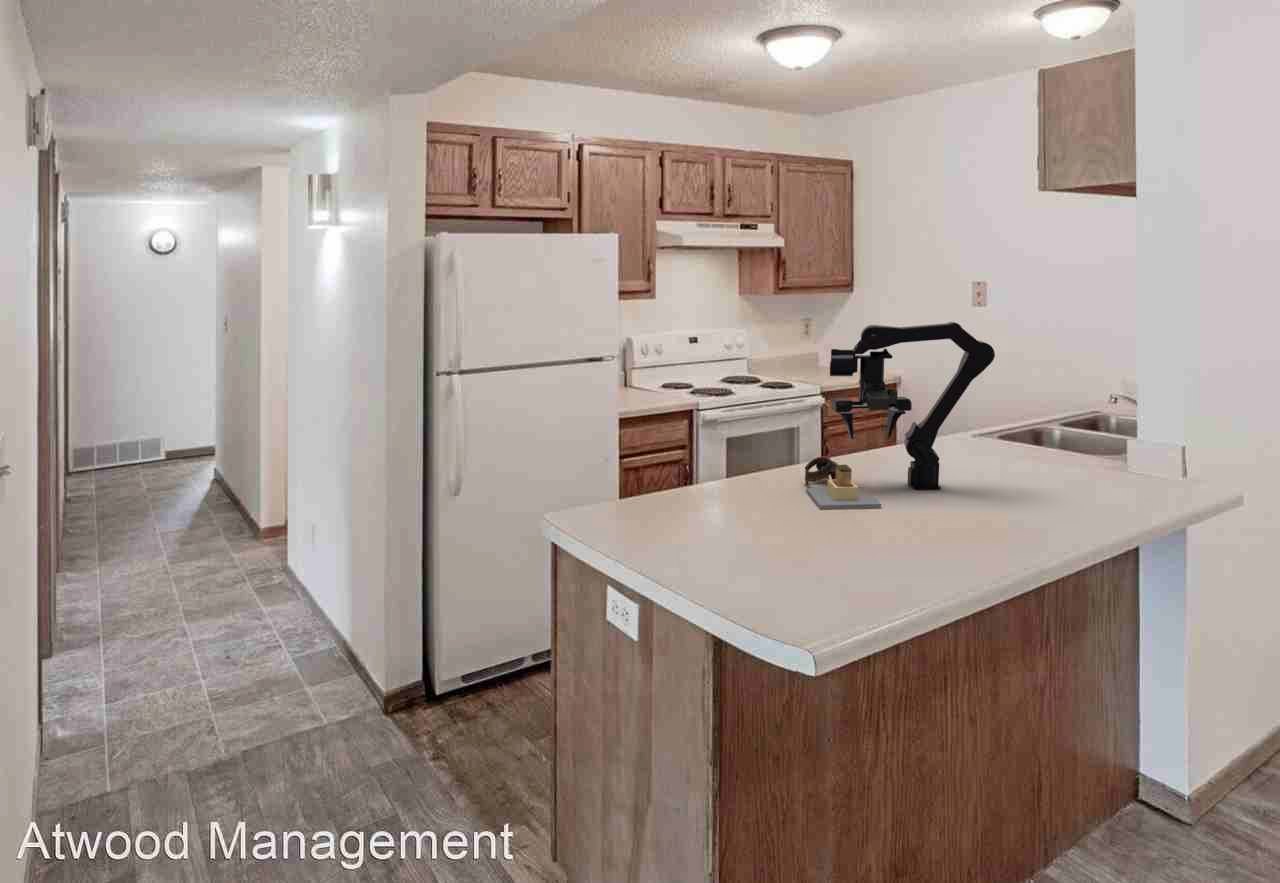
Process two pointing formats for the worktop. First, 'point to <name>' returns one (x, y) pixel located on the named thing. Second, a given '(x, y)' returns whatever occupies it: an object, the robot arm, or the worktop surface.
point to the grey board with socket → (842, 497)
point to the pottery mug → (820, 469)
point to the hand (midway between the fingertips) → (870, 438)
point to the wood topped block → (843, 476)
